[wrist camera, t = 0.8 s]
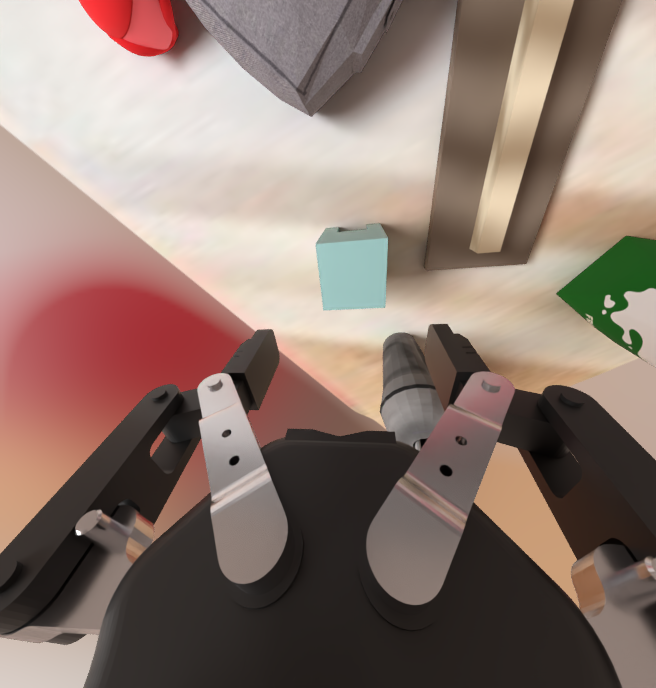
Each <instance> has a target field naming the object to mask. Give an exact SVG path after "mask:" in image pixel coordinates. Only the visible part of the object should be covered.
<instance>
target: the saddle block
mask: <svg viewBox="0 0 656 688" xmlns="http://www.w3.org/2000/svg"><path fill="white" fill-rule="evenodd" d="M316 252H317V260H318V269H319V277H320V285H321V293H322V302H323V310H342V309H364V308H385V302H386V277H387V253H388V237H387V235H386V233H385V232H384V230H383V228H382V226H381V224H380V223H377V224H367V229H364V230H353V231H342V232H339V227H335V228H326V229H325V231H324V232H323V234H322V235H321V237H320V238H319V240H318V241H317V243H316Z"/></svg>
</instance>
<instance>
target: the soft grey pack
mask: <svg viewBox="0 0 656 688" xmlns="http://www.w3.org/2000/svg"><path fill="white" fill-rule="evenodd" d="M186 2H187V3H188V5H189V6H190V7H191V9H192V10H193V12H194V13H195V14H196V16H197V17H198V19H199V20H200V21H201V23H202V24H203V26H204V27H205V28H206V29H207V30H208V31H209V32H210V34H211V35H212V36H213V37H214V38H215V39H216V40H217V41H218V42H219V43H220V44H221V45H222V46H223V47H224V49H225V50H226V51H227V52H228V53H229V54H230V55H231V56H232V57H233V58H234V59H235V60H236V61H237V62H238V64H239V65H240V66H241V67H242V68H243V69H244V70H246V71H247V72H248V73H249V74H250V75H252V76H253V77H254V78H255V79H256V80H257V81H259V82H260V83H261V84H262V85H263V86H265V87H266V88H267V89H268V90H269V91H271V92H272V93H273V94H274V95H275V96H277V97H278V98H279V99H281V100H282V101H284V102H286V103H288V104H289V105H291V106H293V107H295V108H297V109H298V110H300V111H302V112H304V113H305V114H307V115H309V116H311V117H312V116H313V115H314V114H315V113H316V112H317V111H318V110H319V109H320V108H321V107H322V106H323V105H324V104H325V103H326V102H327V101H328V100H329V99H330V98H331V97H332V96H333V95H334V94H335V93H336V92H337V91H338V90H339V89H340V88H341V87H342V86H343V84H344V83H345V82H346V81H347V80H348V79H349V78H350V77H351V76H352V75H353V74H354V73H359V72H362V70H363V68H364V67H365V65H366V63H367V61H368V60H369V58H370V56H371V54H372V53H373V51H374V49H375V47H376V46H377V44H378V42H379V41H380V39H381V37H382V35H383V34H384V32H385V30H386V33H387V31H388V30H389V27H390V25H391V23H392V21H393V19H394V17H395V15H396V13H397V11H398V9H399V7H400V5H401V3H402V0H186Z"/></svg>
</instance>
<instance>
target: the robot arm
mask: <svg viewBox="0 0 656 688" xmlns="http://www.w3.org/2000/svg"><path fill="white" fill-rule="evenodd" d="M425 362H426V365H427V367H428V370H429V372H430V375H431V378H432V380H433V383H434V385H435V388H436V391H437V393H438V396H439V398H440V401H441V404H442V406H443V409H444V414H443V415H442V417H441V418H440V420H439V422H438V423H437V425H436V426H435V428H434V430H433V431H432V433H431V434H430V436H429V437H428V439H427V441H426V442H425V444H424V445H423V447H422V449H421V450H420V451H419V450H417V449H415V448H414V447H412V446H410V445H408V444H405V443H403V442H400V441H396V436H395V432H390V431H365V432H359V433H354V434H350V435H345V436H335V435H331V434H328V433H324V432H320V431H317V430H313V429H288V430H287V433H286V437H284V438H281V439H277V440H275V441H273V442H270V443H269V444H267V445H265V446H264V447H262V448H261V447H260V445H259V442H258V440H257V437H256V435H255V432H254V430H253V427H252V425H251V423H250V420H249V418H248V415H247V414H248V412H249V410H259V408H260V406H261V404H262V401H263V399H264V397H265V394H266V392H267V390H268V387H269V385H270V382H271V380H272V378H273V376H274V373H275V371H276V368H277V366H278V364H279V351H278V347H277V343H276V339H275V336H274V332H273V330H272V329H265V330H257V331H256V332H255V334H254V335H253V337H252V338H251V339H248V340H246V341H245V342H244V343H242V344H241V345H240V347H239V348H238V349H237V352H235V354H234V355H233V357H232V358H231V359H230V361H229V362H228V363H227V365H226V367H225V368H224V369H223V370H222V372H221V373H219V374H215V375H212V376H209V377H208V378H206V379H205V380H203V381H202V382H201V383H200V385H199V386H198V388H197V389H193V390H189V391H185V392H180V390H179V388H178V387H177V386H176V385H173V384H168V385H164V386H161V387H158V388H156V389H154V390H152V391H151V392H149V393H148V394H147V395H146V396H145V397H144V398H143V399H142V400H141V401H140V402H139V403H138V404H137V405H136V407H135V408H134V409H133V410H132V411H131V412H130V413H129V414H128V415H127V416H126V417H125V418H124V420H123V421H122V422H121V423H120V424H119V425H118V426H117V427H116V428H115V429H114V430H113V432H112V433H111V434H110V435H109V436H108V437H107V438H106V439H105V440H104V442H102V444H101V445H100V446H99V447H98V448H97V449H96V450H95V451H94V452H93V453H92V455H91V456H90V457H89V458H88V459H87V460H86V461H85V462H84V463H83V464H82V466H81V467H80V468H79V469H78V470H77V471H76V472H75V473H74V474H73V475H72V476H71V477H70V478H69V480H68V481H67V482H66V483H65V484H64V485H63V486H62V487H61V488H60V489H59V491H58V492H57V493H56V494H55V495H54V496H53V497H52V498H51V499H50V501H48V502H47V504H46V505H45V506H44V507H43V508H42V509H41V510H40V511H39V512H38V514H37V515H36V516H35V517H34V518H33V519H32V520H31V521H30V522H29V523H28V524H27V525H26V527H25V528H24V529H23V530H22V531H21V532H20V533H19V534H18V535H17V536H16V537H15V539H14V540H13V541H12V542H11V543H10V544H9V545H8V546H7V547H6V549H4V551H3V552H2V553H1V554H0V637H2V638H7V639H14V640H20V641H27V642H33V643H41V642H50V643H57V644H63V645H67V644H71V643H73V642H76V641H78V640H79V639H81V638H82V637H84V636H85V635H86V634H96V635H99V638H98V641H97V646H96V650H95V654H94V657H93V660H92V664H91V667H90V670H89V673H88V676H87V679H86V682H85V685H84V687H83V688H656V460H655V459H654V458H653V457H652V456H651V455H650V454H649V453H648V452H647V451H646V450H645V449H644V448H642V446H641V445H640V444H639V443H638V442H637V441H636V440H635V439H634V438H633V437H632V436H631V435H630V434H629V433H628V432H626V430H625V429H624V428H623V427H622V426H621V425H620V424H619V423H618V422H617V421H616V420H615V419H613V418H612V416H611V415H609V413H608V412H607V411H606V410H605V409H604V408H602V406H601V405H599V404H598V402H597V401H595V400H594V399H593V398H592V397H590V396H589V395H587V394H585V393H583V392H581V391H579V390H577V389H574V388H571V387H567V386H561V385H552V386H548V387H546V388H545V389H544V391H543V393H542V394H537V393H532V392H527V391H522V390H518V389H515V388H514V386H513V384H512V383H511V382H510V381H509V380H508V379H506V378H505V377H503V376H501V375H498V374H496V373H492V372H490V370H489V369H488V367H487V366H486V365H485V363H484V362H483V360H482V359H481V358H480V356H479V355H478V354H477V352H476V350H475V349H474V348H473V346H472V345H471V343H470V342H469V341H468V339H466V338H465V337H463V336H462V335H460V334H453V332H452V330H451V329H450V327H449V326H448V324H431V325H430V326H429V328H428V334H427V340H426V346H425ZM161 431H162V432H163V433H164V434H165V438H164V439H163V441H162V442H161V444H160V445H159V447H158V448H157V450H156V451H155V452H154V454H153V456H152V457H150V449H151V446H152V444H153V443H154V441H155V440H156V438H157V437H158V435H159V434H160V433H161ZM201 438H202V443H203V449H204V455H205V461H206V467H207V473H208V478H209V485H210V490H211V492H210V493H209V494H208V495H207V496H206V497H205V498H204V499H202V500H201V501H200V502H199V503H198V504H197V505H196V506H194V507H193V508H192V509H191V510H190V511H189V512H188V513H186V514H185V515H184V516H183V517H182V518H181V519H179V520H178V521H177V522H176V523H175V524H174V525H173V526H172V527H170V528H169V529H168V530H167V531H166V532H165V533H163V534H162V535H161V536H160V537H159V538H158V539H157V540H156V541H154V542H153V543H152V541H153V537H154V532H155V531H154V524H155V522H156V520H157V518H158V516H159V514H160V513H161V511H162V509H163V507H164V505H165V503H166V502H167V500H168V498H169V496H170V494H171V492H172V491H173V489H174V487H175V485H176V483H177V481H178V480H179V478H180V476H181V474H182V472H183V470H184V468H185V466H186V465H187V463H188V461H189V459H190V458H191V456H192V454H193V452H194V450H195V448H196V446H197V445H198V443H199V441H200V439H201ZM496 442H499V443H502V444H506V445H509V446H513V447H516V448H518V450H519V452H520V454H521V455H522V457H523V459H524V461H525V463H526V465H527V467H528V468H529V470H530V472H531V474H532V476H533V478H534V480H535V482H536V483H537V485H538V487H539V489H540V491H541V493H542V494H543V497H544V498H545V500H546V502H547V504H548V506H549V508H550V509H551V511H552V513H553V515H554V517H555V519H556V521H557V523H558V525H559V527H560V528H561V530H562V532H563V534H564V536H565V538H566V539H567V541H568V543H569V545H570V547H571V549H572V551H573V553H574V555H575V556H576V558H577V561H576V562H575V563H574V564H573V566H572V569H571V578H572V582H573V585H574V587H575V590H576V593H577V597H578V600H579V607H580V609H579V608H578V607H577V605H576V604H575V603H574V602H573V601H572V599H571V598H570V597H569V596H568V595H567V594H566V593H565V592H564V591H563V590H562V589H561V588H560V587H559V586H558V585H557V584H556V583H555V582H554V581H553V580H552V579H551V578H550V577H549V576H548V575H547V574H546V573H545V572H544V571H543V570H542V569H541V568H540V567H539V566H538V565H537V564H536V563H535V562H534V561H533V560H532V559H531V558H530V557H529V556H528V555H527V554H526V553H525V552H524V551H523V550H522V549H521V548H520V547H519V546H518V545H517V544H516V543H515V542H514V541H513V540H511V538H510V537H508V536H507V535H506V534H505V533H504V532H503V531H502V530H501V529H500V528H499V527H498V526H497V525H496V524H495V523H494V522H493V521H492V520H491V519H490V518H489V517H488V516H487V515H486V514H485V513H484V512H483V511H482V510H481V509H480V508H479V507H478V506H477V505H476V504H475V503H474V499H475V497H476V494H477V491H478V489H479V486H480V484H481V481H482V478H483V476H484V473H485V471H486V468H487V466H488V463H489V460H490V458H491V455H492V453H493V450H494V447H495V445H496ZM570 451H571V452H570ZM572 454H573V455H572ZM575 458H576V459H575ZM577 461H578V462H577ZM151 543H152V544H151Z"/></svg>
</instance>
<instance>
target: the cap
mask: <svg viewBox="0 0 656 688" xmlns="http://www.w3.org/2000/svg"><path fill="white" fill-rule="evenodd" d="M79 1H80V3H81V5H82V6H83V8H84V9H85V11H86V12H87V14H88V15H89V16H90V18H91V19H92V20H93V21H94V22H95V23H96V24H97V25H98V26H99V27H100V28H101V29H102V30H103V31H104V32H106V33H107V34H108V36H109V37H110V38H111V39H113V40H114V41H115V42H117V43H118V44H119V45H121V46H122V47H124V48H125V49H126V50H128V51H130V52H132V53H134V54H137V55H140V56H156V55H160V54H163V53H165V52H167V51H168V50H170V49H171V48H172V47H173V46H174V45H175V42H176V39H177V37H178V35H179V32H178V28H177V26H176V25H175V21H174V16H173V11H172V6H171V2H170V0H79Z"/></svg>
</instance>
